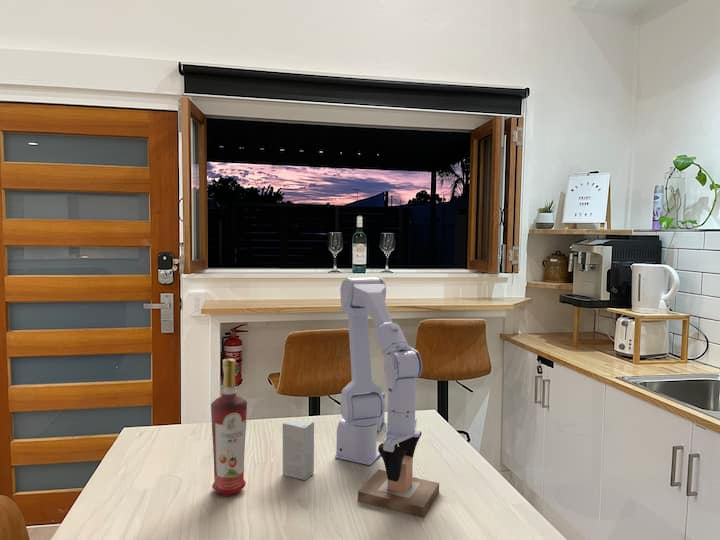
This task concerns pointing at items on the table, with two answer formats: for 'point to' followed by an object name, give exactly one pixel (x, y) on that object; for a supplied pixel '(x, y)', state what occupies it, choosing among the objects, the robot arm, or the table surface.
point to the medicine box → (379, 424)
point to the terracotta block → (403, 476)
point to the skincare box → (298, 448)
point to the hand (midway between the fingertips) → (399, 472)
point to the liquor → (229, 435)
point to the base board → (399, 494)
